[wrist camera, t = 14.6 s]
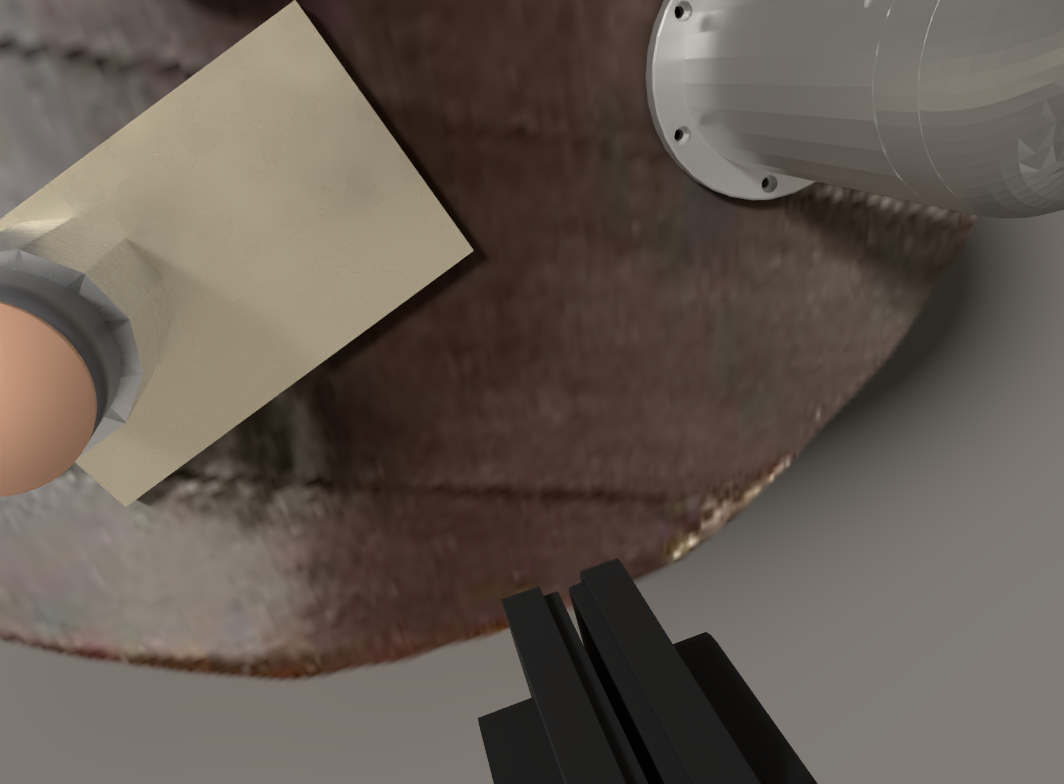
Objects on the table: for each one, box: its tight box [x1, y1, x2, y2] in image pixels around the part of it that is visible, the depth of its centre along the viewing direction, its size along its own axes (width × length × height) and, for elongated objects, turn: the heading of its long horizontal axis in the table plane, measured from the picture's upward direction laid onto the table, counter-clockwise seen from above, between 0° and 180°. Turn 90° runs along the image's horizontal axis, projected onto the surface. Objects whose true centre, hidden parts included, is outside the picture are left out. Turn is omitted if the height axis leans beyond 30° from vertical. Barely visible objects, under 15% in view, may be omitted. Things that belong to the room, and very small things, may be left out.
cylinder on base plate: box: [0, 0, 474, 507], centre depth 34 cm, size 21×13×8 cm, turn 124°
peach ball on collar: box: [0, 270, 121, 497], centre depth 29 cm, size 7×7×7 cm
